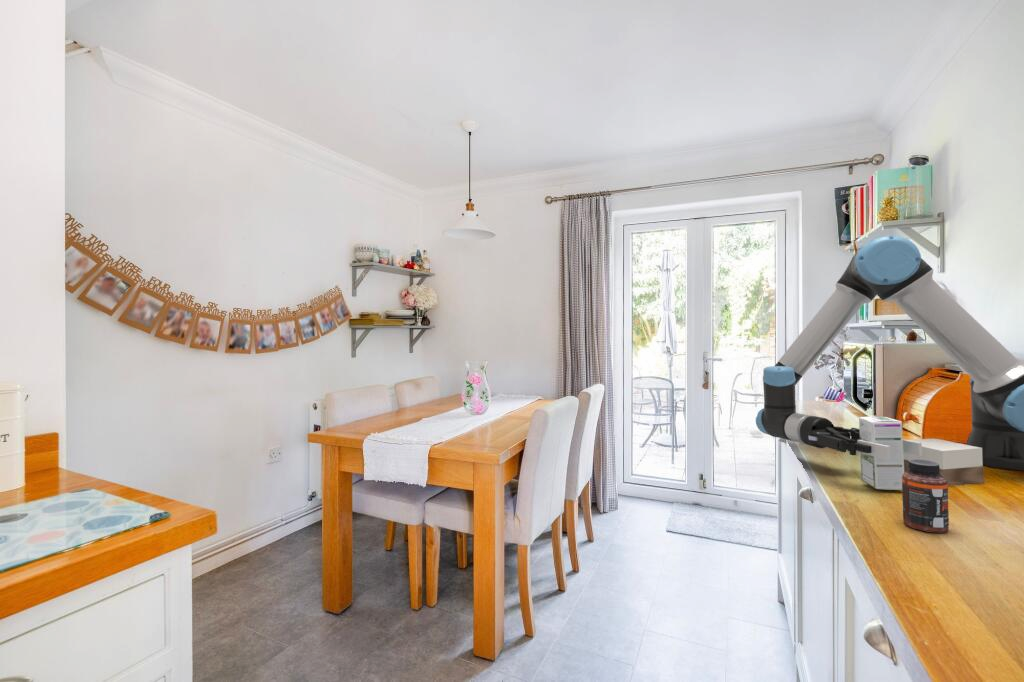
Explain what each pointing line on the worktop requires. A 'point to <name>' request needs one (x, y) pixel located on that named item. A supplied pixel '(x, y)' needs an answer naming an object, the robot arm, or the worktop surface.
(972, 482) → the tower base block
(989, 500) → the worktop surface
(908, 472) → the supplement bottle
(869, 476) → the syrup box
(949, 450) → the tower top block
